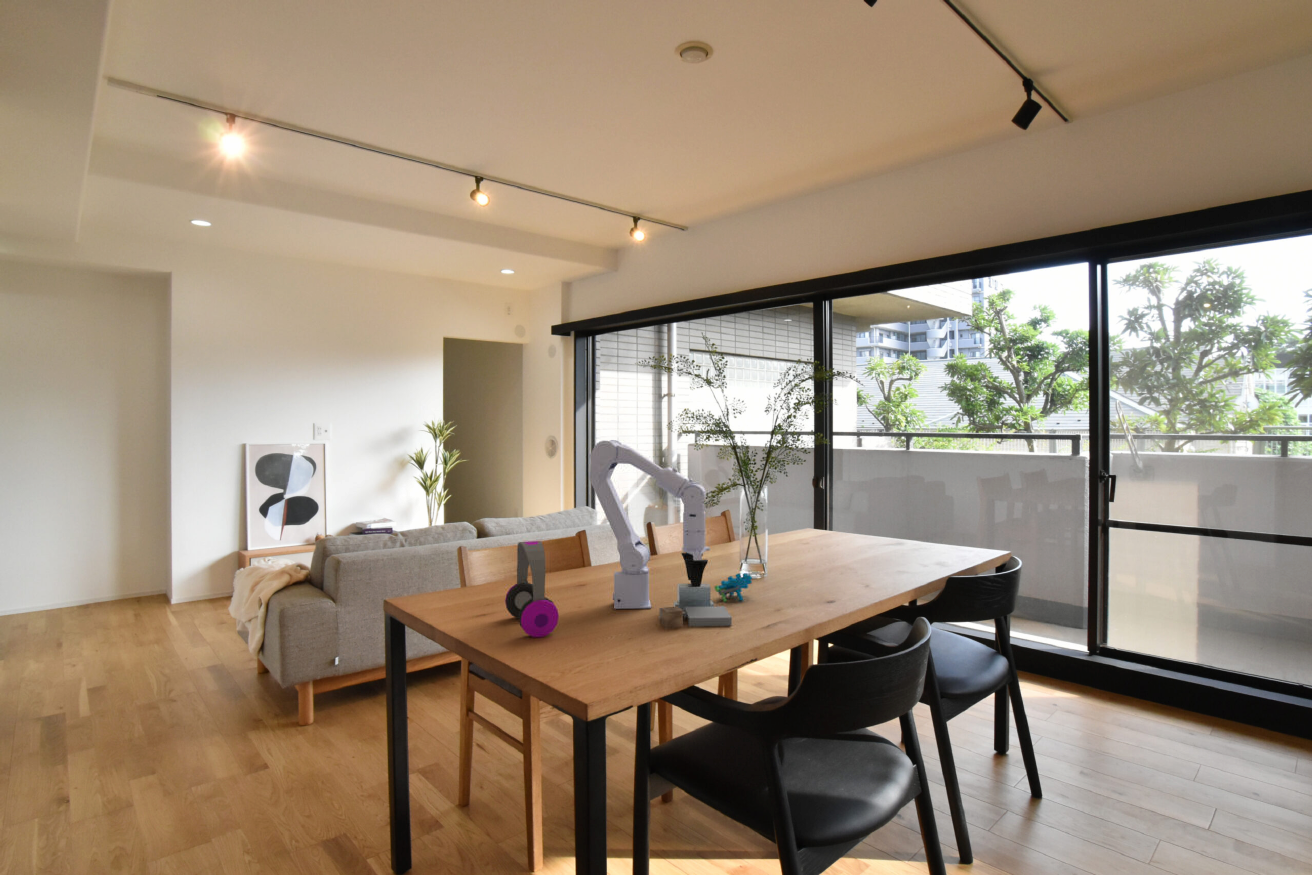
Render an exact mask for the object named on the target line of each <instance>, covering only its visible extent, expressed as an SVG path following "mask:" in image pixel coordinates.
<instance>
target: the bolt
mask: <svg viewBox="0 0 1312 875" xmlns="http://www.w3.org/2000/svg"><path fill="white" fill-rule="evenodd" d="M661 608H662V607H659V621H661ZM685 620H686V617H685V611H683V621H685Z"/></svg>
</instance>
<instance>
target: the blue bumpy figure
mask: <svg viewBox="0 0 1312 875" xmlns="http://www.w3.org/2000/svg"><path fill="white" fill-rule="evenodd" d="M752 580H753V578H752V575H750V574H748V573H746V572H744V573H742V575H741V573H740V572H739V573H736V574H735V577H733V576H731V575H730V576H729V577H727V580H722V581H721V582H720V584H721V585H720V584H719V585H715V586H714V587H713V588H714V590H715V592H716V593H718V596H721V597H722V600H723V602H724V603H726V602H727V598H726V597H727V596H728V594H729V596H730V595H731V596H734V595H735V593H736V595H737V597H738V600H739V602H742V601H744V598H743V596H742V593H741V592H743V590H744V589H748V588H749V585H750V584H752ZM742 589H743V590H742Z"/></svg>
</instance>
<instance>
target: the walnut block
mask: <svg viewBox="0 0 1312 875" xmlns="http://www.w3.org/2000/svg"><path fill="white" fill-rule="evenodd" d="M660 608H661V620H660V624H661V626H662V627H664V628H665V629H667V630H668V629H679V628H681V627H682V628H683V627H684V620H683V612H684V611H683V610H681V609H680V608H678V607H677V606H676V607H674V606H666V607H665V606H664V607H660Z"/></svg>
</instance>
